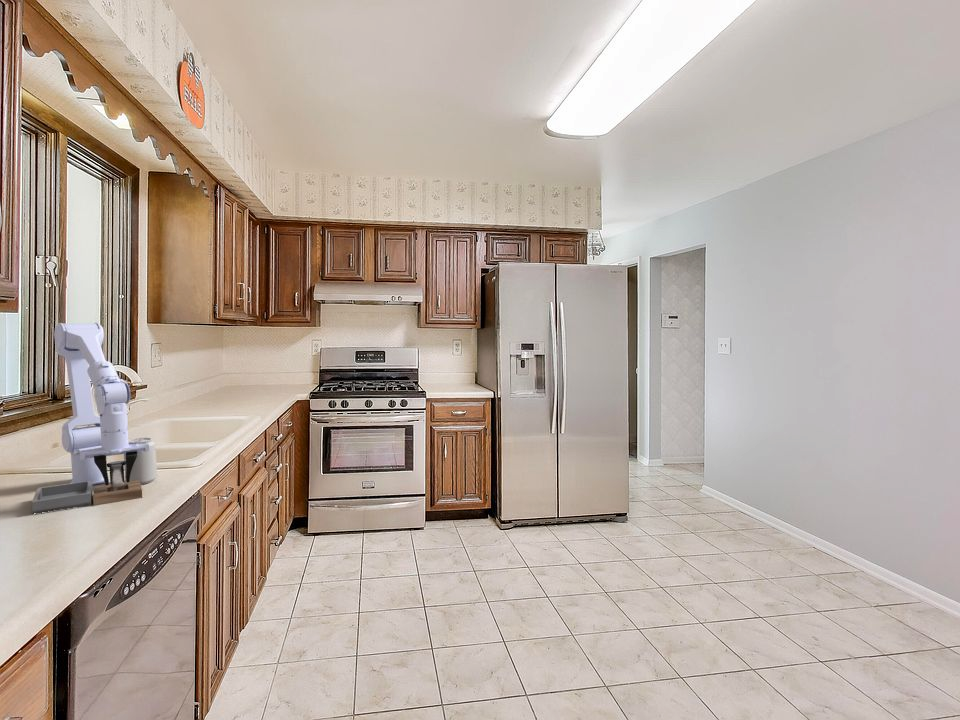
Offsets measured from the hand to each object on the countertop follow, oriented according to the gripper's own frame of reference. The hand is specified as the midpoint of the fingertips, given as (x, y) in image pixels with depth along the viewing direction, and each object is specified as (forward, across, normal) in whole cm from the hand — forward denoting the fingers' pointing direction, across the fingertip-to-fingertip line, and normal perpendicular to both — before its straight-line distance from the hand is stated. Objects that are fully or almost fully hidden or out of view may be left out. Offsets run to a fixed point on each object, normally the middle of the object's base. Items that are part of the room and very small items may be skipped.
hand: (117, 482), depth 137 cm
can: (+4, +6, +11) cm, 13 cm away
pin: (+3, 0, 0) cm, 3 cm away
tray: (+3, -11, +2) cm, 12 cm away
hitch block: (+3, 0, 0) cm, 3 cm away
